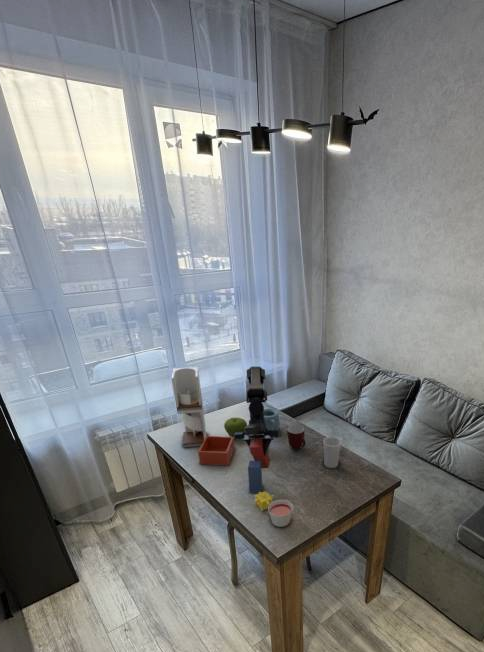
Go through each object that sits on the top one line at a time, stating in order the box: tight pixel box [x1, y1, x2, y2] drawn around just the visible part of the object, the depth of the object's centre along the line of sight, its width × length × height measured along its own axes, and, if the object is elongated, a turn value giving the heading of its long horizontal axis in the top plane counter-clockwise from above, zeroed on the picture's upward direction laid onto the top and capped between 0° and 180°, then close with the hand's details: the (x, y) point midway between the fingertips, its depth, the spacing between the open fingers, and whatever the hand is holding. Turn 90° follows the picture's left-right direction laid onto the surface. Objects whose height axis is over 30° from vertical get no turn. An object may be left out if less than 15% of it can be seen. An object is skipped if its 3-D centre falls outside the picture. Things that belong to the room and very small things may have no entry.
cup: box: [322, 436, 342, 469], centre depth 177 cm, size 8×8×12 cm
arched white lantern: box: [171, 366, 208, 448], centre depth 184 cm, size 11×11×35 cm
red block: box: [248, 439, 271, 469], centre depth 162 cm, size 4×4×12 cm
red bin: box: [197, 435, 236, 466], centre depth 180 cm, size 14×13×6 cm
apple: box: [223, 416, 248, 437], centre depth 195 cm, size 11×10×10 cm
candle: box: [267, 499, 294, 528], centre depth 146 cm, size 9×9×6 cm
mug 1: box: [264, 408, 281, 431], centre depth 200 cm, size 15×11×10 cm
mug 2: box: [286, 424, 307, 451], centre depth 188 cm, size 10×8×10 cm
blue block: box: [247, 460, 263, 494], centre depth 159 cm, size 4×4×12 cm
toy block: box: [254, 490, 275, 511], centre depth 152 cm, size 8×8×6 cm
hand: (259, 456), depth 161 cm, fingers closed on red block, 4 cm apart
